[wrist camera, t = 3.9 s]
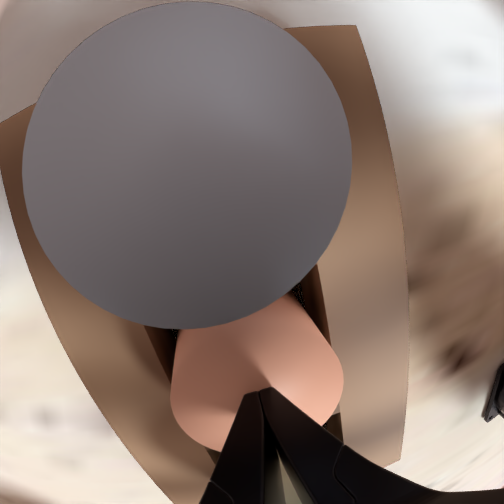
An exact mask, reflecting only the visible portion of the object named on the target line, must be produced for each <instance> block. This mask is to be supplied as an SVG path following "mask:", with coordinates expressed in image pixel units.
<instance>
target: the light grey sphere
mask: <svg viewBox="0 0 504 504" xmlns="http://www.w3.org/2000/svg"><path fill="white" fill-rule="evenodd" d="M351 172H352V148H351V138H350V133H349V127H348V122H347V118H346V115H345V112H344V109H343V106H342V103H341V100H340V98H339V96H338V94H337V92H336V90H335V88H334V86H333V83H332V82H331V80H330V78H329V77H328V75H327V74H326V72H325V71H324V69H323V68H322V66H321V65H320V63H319V62H318V61H317V60H316V59H315V58H314V57H313V55H312V54H311V53H310V52H309V51H308V50H307V49H306V48H305V47H304V46H303V45H302V44H301V43H300V42H299V41H297V40H296V39H295V38H294V37H293V36H292V35H290V34H289V33H288V32H286V31H285V30H283V29H282V28H280V27H279V26H277V25H275V24H274V23H272V22H271V21H269V20H266V19H264V18H262V17H260V16H258V15H256V14H254V13H251V12H248V11H245V10H242V9H239V8H236V7H232V6H228V5H222V4H216V3H210V2H176V3H167V4H161V5H157V6H153V7H148V8H144V9H141V10H138V11H136V12H133V13H130V14H128V15H125V16H123V17H121V18H119V19H117V20H115V21H113V22H111V23H109V24H107V25H106V26H104V27H102V28H101V29H99V30H98V31H96V32H95V33H94V34H92V35H91V36H89V37H88V38H87V39H85V40H84V41H83V42H82V43H81V44H80V45H79V46H78V47H76V48H75V49H74V50H73V51H72V52H71V53H70V54H69V55H68V56H67V57H66V59H65V60H64V61H63V62H62V63H61V64H60V66H59V67H58V68H57V69H56V71H55V72H54V73H53V75H52V76H51V78H50V80H49V81H48V83H47V84H46V86H45V87H44V89H43V91H42V93H41V95H40V97H39V99H38V101H37V103H36V106H35V108H34V110H33V113H32V116H31V119H30V122H29V126H28V129H27V133H26V138H25V144H24V149H23V162H22V179H23V191H24V198H25V203H26V207H27V212H28V216H29V218H30V221H31V224H32V227H33V230H34V232H35V235H36V237H37V239H38V241H39V243H40V245H41V247H42V249H43V250H44V252H45V254H46V255H47V257H48V258H49V260H50V261H51V263H52V264H53V266H54V267H55V268H56V270H57V271H58V272H59V273H60V274H61V275H62V276H63V278H64V279H65V280H66V281H67V282H68V283H69V284H70V285H71V286H72V287H73V288H74V289H76V290H77V291H78V292H79V293H80V294H82V295H83V296H84V297H85V298H86V299H88V300H90V301H91V302H93V303H94V304H96V305H97V306H99V307H101V308H102V309H104V310H106V311H108V312H110V313H112V314H114V315H116V316H119V317H121V318H123V319H126V320H129V321H132V322H136V323H139V324H142V325H147V326H152V327H158V328H165V329H196V328H207V327H212V326H216V325H221V324H226V323H229V322H232V321H235V320H238V319H241V318H244V317H246V316H249V315H251V314H253V313H255V312H257V311H259V310H261V309H263V308H265V307H267V306H268V305H270V304H271V303H273V302H274V301H276V300H277V299H279V298H280V297H282V296H283V295H285V294H286V293H287V292H288V291H289V290H291V289H292V288H293V287H294V286H295V285H296V284H298V283H299V282H300V281H301V280H302V279H303V278H304V277H305V275H306V274H307V273H308V272H309V271H310V270H311V269H312V268H313V267H314V266H315V264H316V263H317V261H318V260H319V259H320V257H321V256H322V254H323V253H324V251H325V250H326V249H327V247H328V245H329V243H330V242H331V240H332V238H333V236H334V234H335V232H336V230H337V228H338V226H339V223H340V220H341V218H342V215H343V212H344V210H345V206H346V202H347V198H348V193H349V189H350V182H351Z"/></svg>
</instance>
